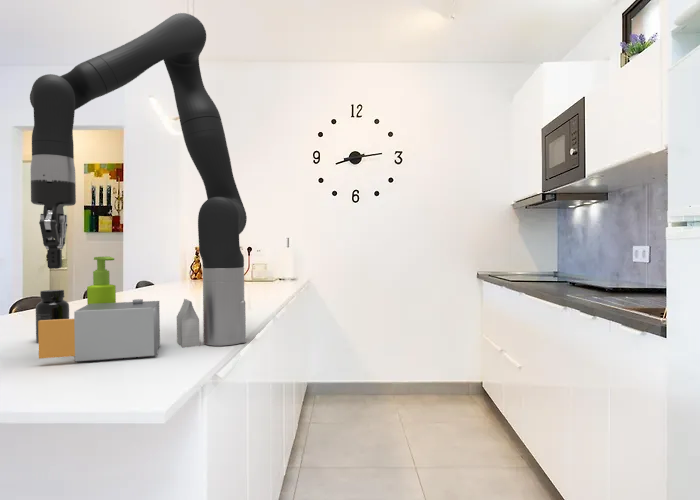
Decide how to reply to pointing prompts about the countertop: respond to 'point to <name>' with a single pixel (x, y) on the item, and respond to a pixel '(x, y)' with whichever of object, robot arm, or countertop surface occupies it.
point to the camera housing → (124, 305)
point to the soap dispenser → (101, 284)
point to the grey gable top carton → (187, 326)
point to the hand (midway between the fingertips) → (54, 268)
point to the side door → (100, 334)
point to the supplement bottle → (51, 307)
